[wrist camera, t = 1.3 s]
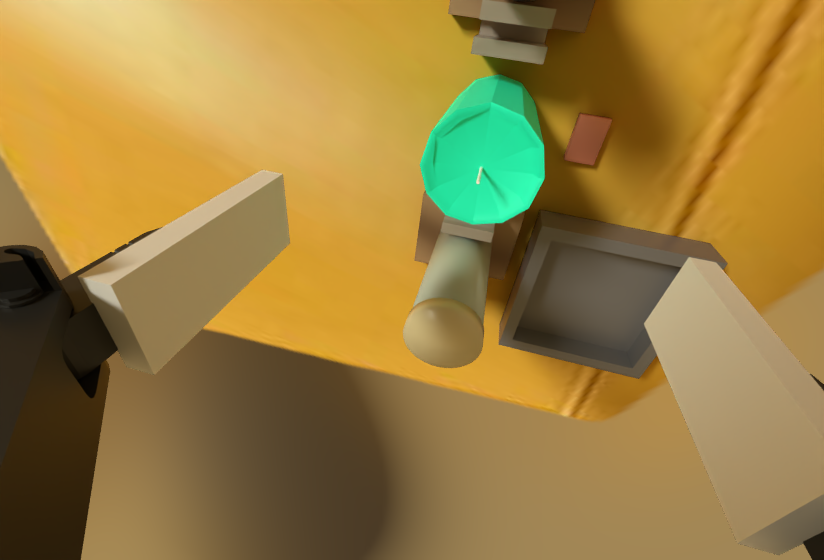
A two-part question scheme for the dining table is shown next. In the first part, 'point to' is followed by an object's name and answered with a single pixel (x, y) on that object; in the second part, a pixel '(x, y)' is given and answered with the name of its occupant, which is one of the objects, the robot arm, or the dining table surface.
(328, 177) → the dining table surface
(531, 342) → the tray
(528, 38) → the fuse clips
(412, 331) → the fuse
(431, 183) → the candle
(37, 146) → the dining table surface
